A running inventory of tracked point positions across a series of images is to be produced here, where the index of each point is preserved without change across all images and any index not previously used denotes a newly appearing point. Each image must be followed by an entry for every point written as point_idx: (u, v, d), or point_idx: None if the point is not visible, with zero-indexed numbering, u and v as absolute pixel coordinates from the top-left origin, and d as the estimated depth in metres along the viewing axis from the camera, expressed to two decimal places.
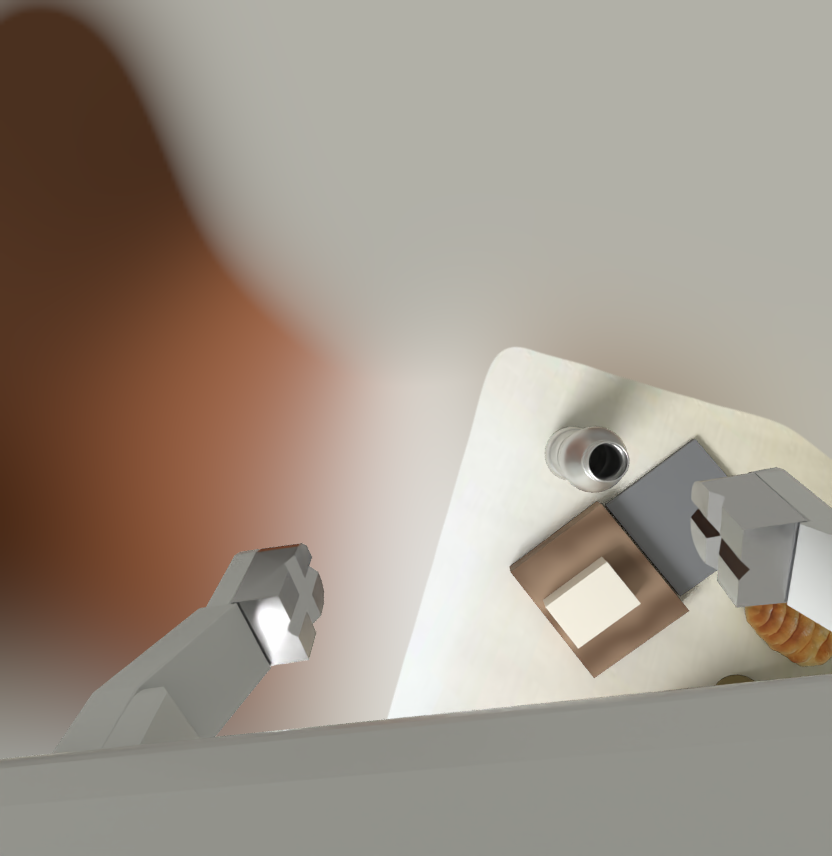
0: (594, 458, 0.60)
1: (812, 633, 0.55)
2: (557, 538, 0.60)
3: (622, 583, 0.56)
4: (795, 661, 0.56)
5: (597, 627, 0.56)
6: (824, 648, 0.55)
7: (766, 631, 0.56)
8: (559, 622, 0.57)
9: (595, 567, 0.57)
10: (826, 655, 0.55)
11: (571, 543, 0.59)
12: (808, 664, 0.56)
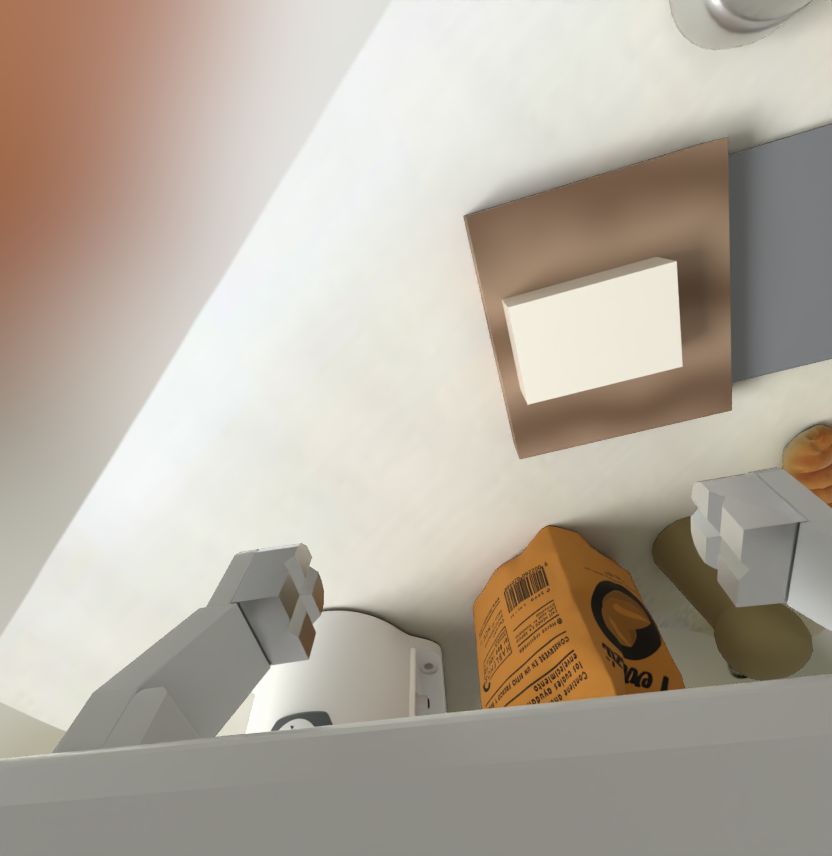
0: None
1: None
2: (596, 180, 0.26)
3: (676, 316, 0.27)
4: None
5: (581, 380, 0.28)
6: None
7: (807, 482, 0.34)
8: (519, 346, 0.28)
9: (644, 267, 0.26)
10: None
11: (617, 203, 0.27)
12: None
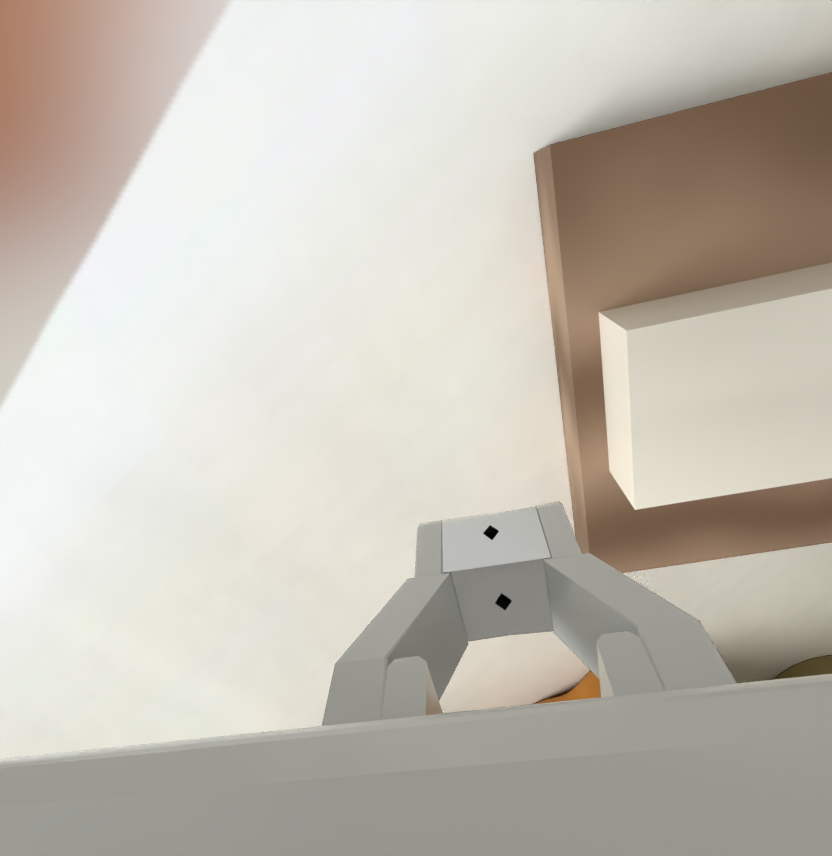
0: None
1: None
2: (824, 80, 0.13)
3: None
4: None
5: (744, 474, 0.15)
6: None
7: None
8: (637, 407, 0.14)
9: None
10: None
11: None
12: None
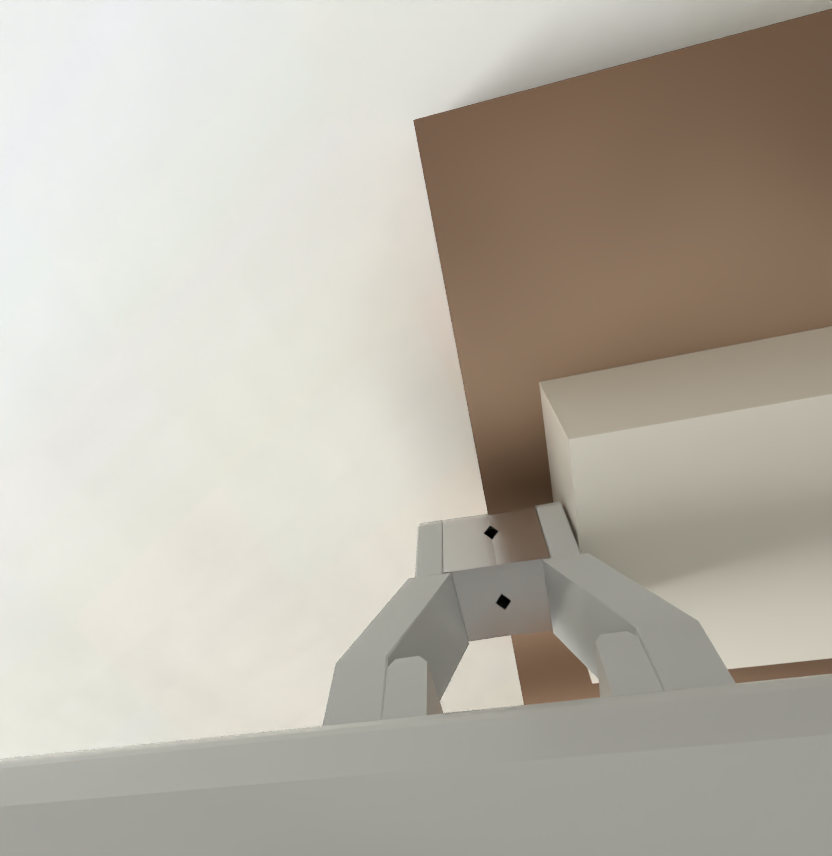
0: None
1: None
2: None
3: None
4: None
5: (763, 643, 0.10)
6: None
7: None
8: (590, 551, 0.09)
9: None
10: None
11: None
12: None
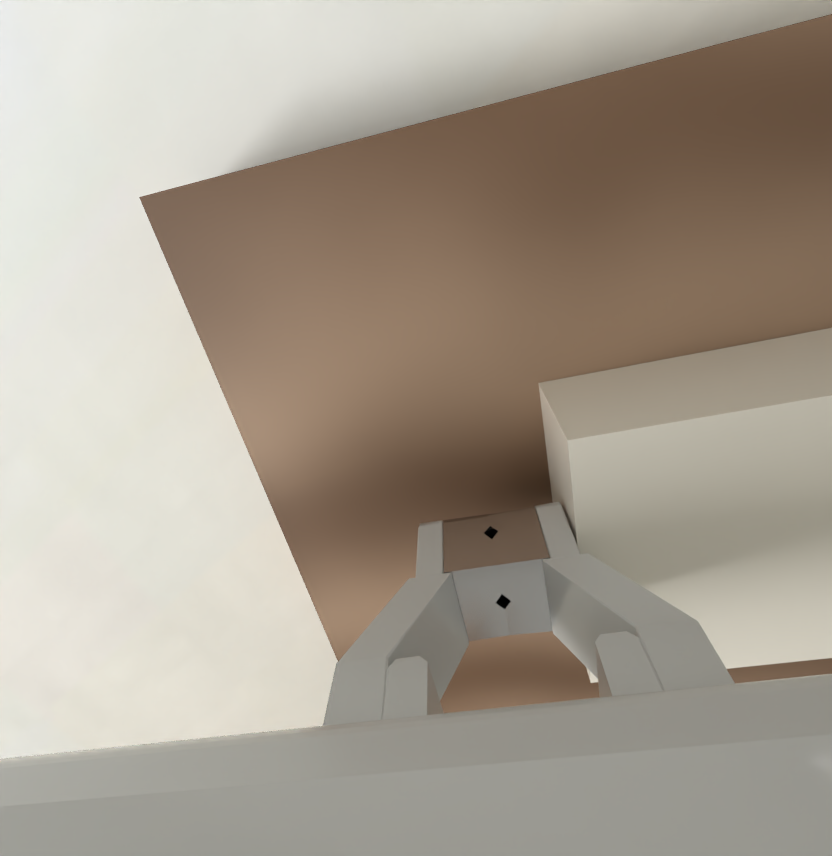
0: None
1: None
2: (544, 100, 0.08)
3: None
4: None
5: (760, 643, 0.10)
6: None
7: None
8: (588, 552, 0.09)
9: None
10: None
11: (611, 183, 0.08)
12: None
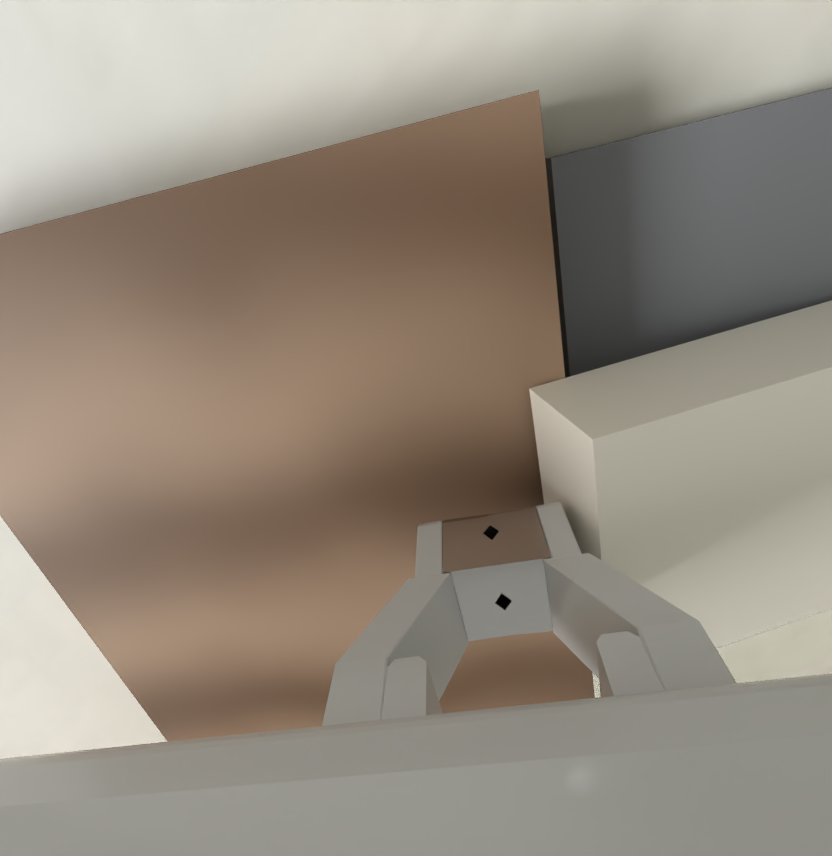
0: None
1: None
2: (157, 201, 0.09)
3: None
4: None
5: (755, 614, 0.10)
6: None
7: None
8: (611, 551, 0.09)
9: None
10: None
11: (238, 270, 0.09)
12: None
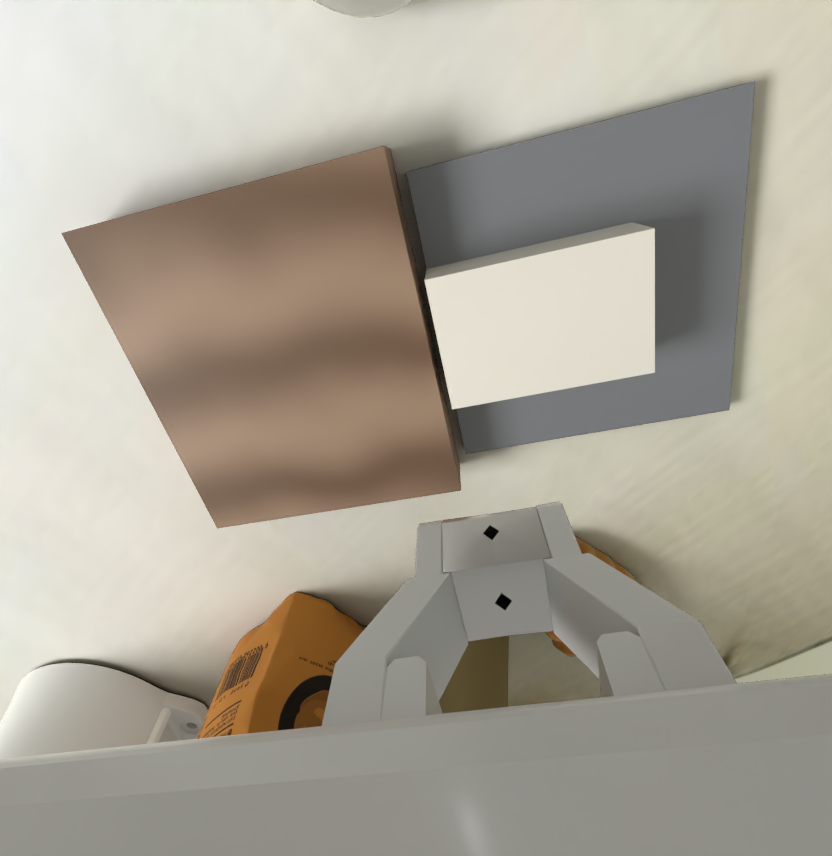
0: None
1: None
2: (219, 194, 0.19)
3: (650, 305, 0.20)
4: None
5: (522, 383, 0.22)
6: None
7: None
8: (440, 334, 0.21)
9: (611, 235, 0.19)
10: None
11: (255, 226, 0.20)
12: None
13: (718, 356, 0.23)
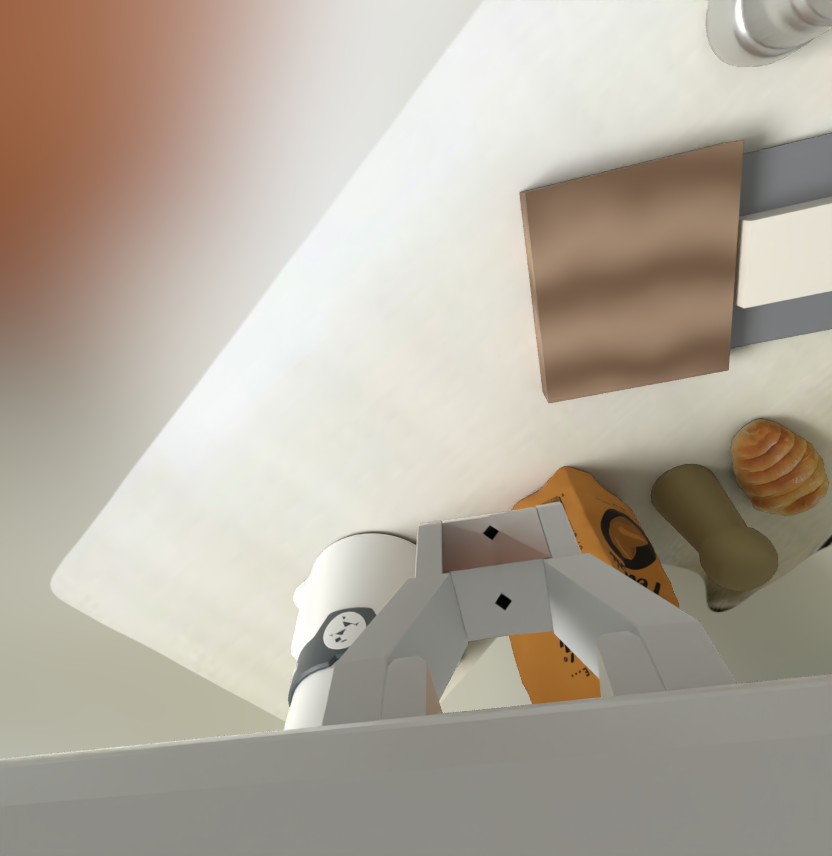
0: None
1: (805, 481, 0.41)
2: (634, 168, 0.32)
3: None
4: (759, 505, 0.44)
5: (794, 289, 0.34)
6: (804, 500, 0.42)
7: (750, 466, 0.42)
8: (751, 256, 0.34)
9: None
10: (801, 508, 0.42)
11: (649, 188, 0.32)
12: (770, 511, 0.44)
13: None
